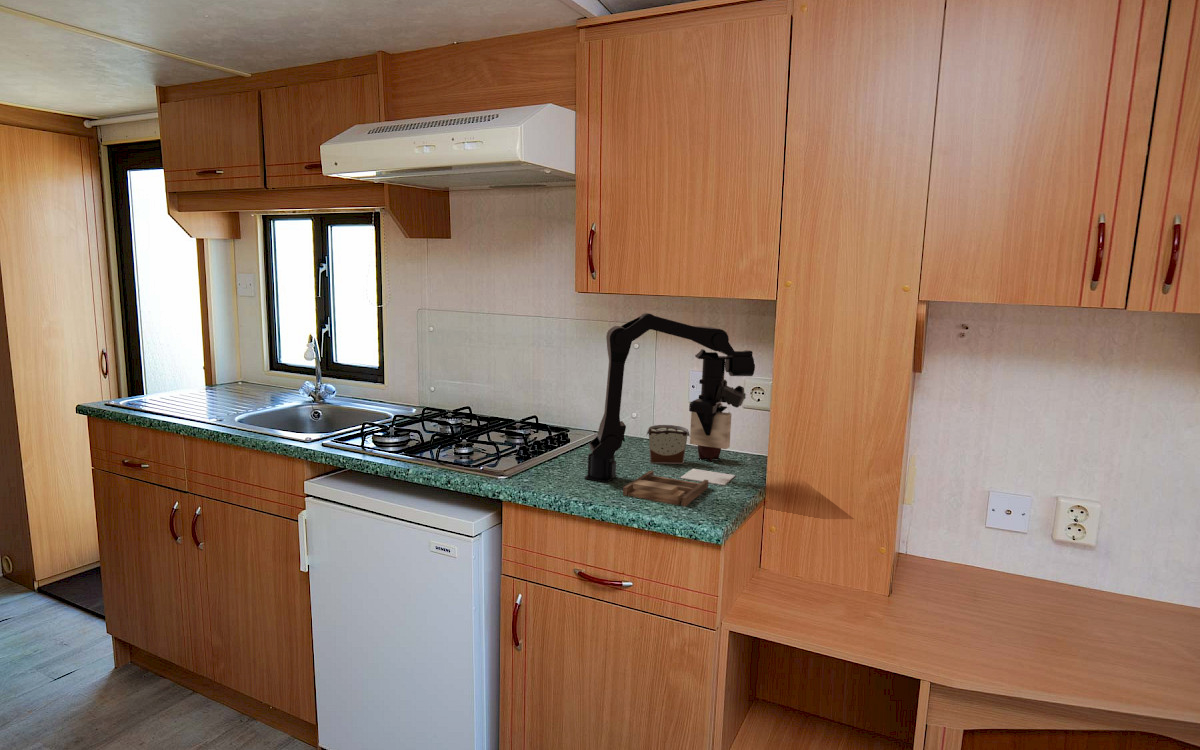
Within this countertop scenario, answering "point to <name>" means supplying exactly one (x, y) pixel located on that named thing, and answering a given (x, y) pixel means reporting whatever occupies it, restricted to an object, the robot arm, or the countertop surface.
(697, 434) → the maple panel
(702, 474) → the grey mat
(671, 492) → the offcut stack
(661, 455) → the food container
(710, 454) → the mate gourd
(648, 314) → the robot arm
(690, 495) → the rack
